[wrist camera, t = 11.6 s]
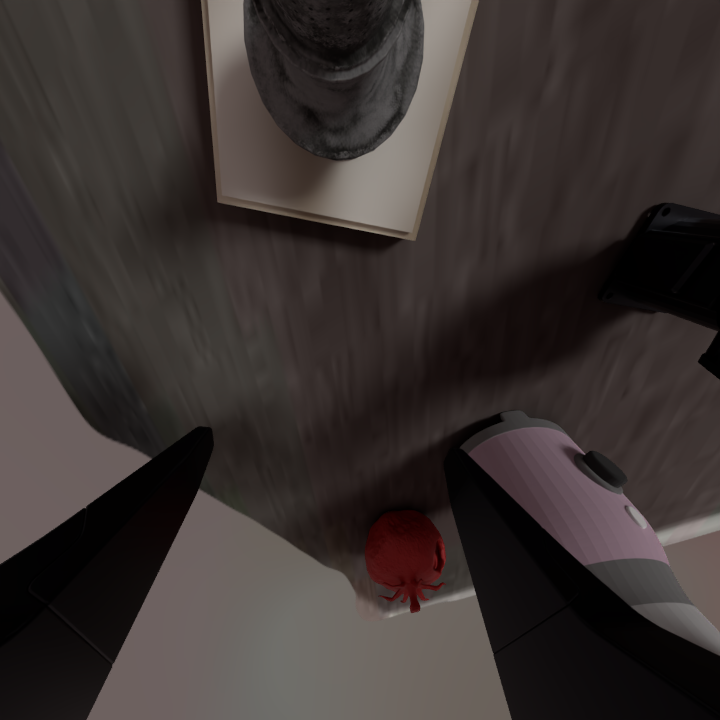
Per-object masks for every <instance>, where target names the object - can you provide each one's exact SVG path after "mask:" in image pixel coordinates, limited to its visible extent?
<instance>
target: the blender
mask: <svg viewBox="0 0 720 720" xmlns="http://www.w3.org/2000/svg"><path fill="white" fill-rule="evenodd" d="M500 418H501V420H502V422H501V423H498V424H495V425H493V426H490V427H488V428H486V429H484V430H482V431H480V432H478V433H477V434H475V435H474V436H472V437H471V438H469V439H468V440H467V441H466V442H465V443H464V444H463V445H462V446H461V447H460V448H461V449H463V450H464V451H465V452H466V453H467V454H468V455H469V456H470V457H471V458H472V459H473V460H474V461H475V462H476V463H477V464H478V465H479V466H480V467H481V468H483V469H484V470H485V471H486V472H487V473H488V474H489V475H490V476H491V477H492V478H493V479H494V480H495V481H496V482H497V483H498V484H499V485H500V486H501V487H502V488H503V489H504V490H505V491H506V492H507V493H508V494H509V495H510V496H511V497H512V498H513V499H514V500H515V501H516V502H517V503H518V504H519V505H520V506H521V507H523V508H524V509H525V510H526V511H527V512H528V513H529V514H530V515H531V516H532V517H533V518H534V519H535V520H536V521H537V522H538V523H539V524H540V525H541V526H542V528H544V529H545V530H546V531H547V532H548V533H549V534H550V535H551V536H552V537H553V538H554V539H556V540H557V541H558V542H559V543H560V544H561V545H562V546H563V547H564V548H565V549H566V550H567V551H568V552H569V553H570V554H572V555H573V556H574V557H575V558H576V559H577V560H578V561H579V562H580V563H582V564H583V565H584V566H585V567H586V568H587V569H588V570H589V571H591V572H592V573H593V574H594V575H595V576H596V577H597V578H599V579H600V580H601V581H602V582H603V583H604V584H605V585H607V586H608V587H609V588H610V589H611V590H612V591H614V592H615V593H616V594H617V595H618V596H619V597H620V598H622V599H623V600H624V601H625V602H626V603H627V604H628V605H630V606H631V607H632V608H633V609H634V610H636V611H637V612H638V613H640V614H641V615H642V616H644V617H645V618H647V619H648V620H650V621H651V622H653V623H655V624H656V625H658V626H660V627H662V628H664V629H666V630H668V631H670V632H672V633H674V634H676V635H678V636H680V637H682V638H684V639H686V640H688V641H690V642H692V643H694V644H696V645H698V646H701V647H703V648H705V649H707V650H709V651H711V652H713V653H715V654H717V655H719V656H720V632H719V631H718V630H717V629H716V628H715V627H714V626H713V625H712V624H711V623H710V622H709V621H708V620H707V618H706V617H705V616H704V615H703V614H702V613H701V612H700V611H699V610H698V609H697V608H696V607H695V606H694V604H693V603H692V602H691V601H690V600H689V598H688V597H687V596H686V594H685V593H684V591H683V589H682V588H681V586H680V584H679V583H678V581H677V579H676V577H675V576H674V574H673V572H672V570H671V568H670V565H669V562H668V559H667V557H666V554H665V552H664V549H663V547H662V545H661V543H660V541H659V539H658V537H657V535H656V534H655V532H654V531H653V529H652V527H651V526H650V525H649V523H648V522H647V520H646V519H645V518H644V517H643V515H642V514H641V513H640V512H639V511H638V510H637V509H636V507H635V506H634V505H633V504H632V503H631V502H630V501H629V500H628V499H627V498H626V497H625V495H624V494H623V489H622V487H621V486H622V485H624V484H625V483H626V482H627V477H626V475H625V474H624V473H623V472H622V471H621V470H620V469H619V468H618V467H617V466H616V465H615V464H614V463H613V462H612V461H610V460H609V459H608V458H606V457H605V456H603V455H602V454H600V453H598V452H596V451H589V452H588V453H587V454H585V453H584V452H583V451H582V450H581V449H580V448H579V447H578V446H577V445H576V444H575V443H574V442H573V440H572V439H571V438H570V437H569V436H568V435H567V434H566V433H565V431H564V430H563V429H562V428H561V427H559V426H558V425H556V424H555V423H553V422H550V421H547V420H543V419H537V418H529V417H528V416H527V415H526V414H524V413H523V412H522V411H519V410H515V411H507V412H503V413H501V414H500Z"/></svg>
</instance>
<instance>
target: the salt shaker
mask: <svg viewBox="0 0 720 720" xmlns="http://www.w3.org/2000/svg"><path fill="white" fill-rule="evenodd" d="M243 15H244V42H245V47H246V52H247V57H248V62H249V66H250V71H251V75H252V77H253V80H254V82H255V85H256V87H257V90H258V92H259V95H260V97H261V100H262V102H263V104H264V106H265V107H266V109H267V110H268V112H269V113H270V115H271V116H272V118H273V120H274V121H275V123H276V124H277V126H278V127H279V128H280V129H281V130H282V131H283V132H284V133H285V134H286V135H287V136H288V137H289V138H290V139H291V140H292V141H293V142H294V143H295V144H296V145H298V146H300V147H301V148H303V149H305V150H306V151H308V152H310V153H311V154H313V155H315V156H319V157H323V158H327V159H331V160H335V161H342V160H352V159H355V158H358V157H360V156H362V155H365V154H367V153H369V152H372V151H374V150H375V149H376V148H377V147H378V146H380V145H381V144H382V143H383V142H384V141H386V140H387V139H388V138H389V137H390V136H391V135H392V134H393V132H394V131H395V129H396V128H397V127H398V125H399V124H400V122H401V121H402V120H403V118H404V117H405V115H406V113H407V111H408V108H409V106H410V104H411V101H412V99H413V97H414V94H415V92H416V90H417V85H418V81H419V76H420V71H421V67H422V62H423V51H424V18H423V11H422V4H421V0H244V2H243Z"/></svg>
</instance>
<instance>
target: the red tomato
mask: <svg viewBox="0 0 720 720" xmlns="http://www.w3.org/2000/svg"><path fill="white" fill-rule="evenodd" d="M365 560H366V566H367V571H368V573H369V575H370V577H371V579H372V580H373V581H374V582H376V583H378V584H381V585H383V586H384V587H385V588H387V589H390V590H392V591H394V592H396V593H395V595H394V596H393V597H392V598H390V597H385V596H380V597H383V598H385V599H386V600H388V601H394V600H395V599H396V598H398V597H399V596H400V595H401V594H404V598H403V601H400V602H402V603H405V602H406V600H407V598H408V596H409V597H410V602H411V605H410V611H411V613H414V612H418V611H420V605H419V602H418V601H417V595H418V596H419V597H420V599H421V600H424V601H425V600H429V599H425V597H424V595H423V593H422V591H421V590H422V589H431V590H435V591H437V590H439V589H440V588H441V586H442V585H444V584H445V583H443V582H442V583H440V584H439V585H438V586H432V585H430V584H431V583H433V582H434V581H435V580H436V579H438V578H439V577H440V575H441V571H442V570H443V567H444V564H445V560H446V555H445V546H444V543H443V540H442V537H441V535H440V533H439V531H438V530H437V528H436V527H435V525H434V524H433V523H432V522H431V520H430V519H429V518H428V517H426V516H425V515H424V514H422V513H420V512H417V511H415V510H401V511H395V510H393V511H389V512H386V513H384V514H383V515H382V516H381V517H380V518H379V519H378V520H377V521H376V522H375V523H374V524H373V526H372V527H371V528H370V530H369V534H368V538H367V542H366V546H365ZM445 585H446V584H445Z"/></svg>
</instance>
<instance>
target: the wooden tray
mask: <svg viewBox="0 0 720 720" xmlns="http://www.w3.org/2000/svg"><path fill="white" fill-rule="evenodd" d="M243 2H244V0H201V5H202V17H203V29H204V42H205V54H206V66H207V79H208V91H209V103H210V116H211V128H212V140H213V153H214V165H215V177H216V190H217V202H218V203H223V204H228V205H233V206H238V207H244V208H249V209H254V210H259V211H264V212H269V213H274V214H280V215H285V216H290V217H295V218H300V219H305V220H310V221H316V222H321V223H326V224H331V225H336V226H341V227H346V228H352V229H357V230H362V231H367V232H372V233H377V234H382V235H388V236H393V237H398V238H403V239H408V240H413V241H415V240H416V236H417V233H418V229H419V225H420V221H421V218H422V214H423V210H424V206H425V202H426V199H427V195H428V191H429V187H430V183H431V180H432V176H433V172H434V168H435V165H436V161H437V157H438V153H439V149H440V146H441V142H442V138H443V134H444V130H445V127H446V123H447V119H448V115H449V112H450V108H451V104H452V100H453V96H454V93H455V89H456V85H457V81H458V77H459V74H460V70H461V66H462V62H463V59H464V55H465V51H466V47H467V43H468V40H469V36H470V32H471V28H472V24H473V21H474V17H475V13H476V9H477V6H478V2H479V0H421V4H422V11H423V18H424V51H423V62H422V67H421V71H420V76H419V81H418V85H417V90H416V92H415V94H414V97H413V99H412V101H411V104H410V106H409V108H408V111H407V113H406V115H405V117H404V118H403V120H402V121H401V122H400V124H399V125H398V127H397V128H396V129H395V131H394V132H393V134H392V135H391V136H390V137H389V138H388V139H387V140H386V141H384V142H383V143H382V144H381V145H380V146H378V147H377V148H376V149H375V150H374V151H372V152H369V153H367V154H365V155H362V156H360V157H358V158H355V159H352V160H342V161H335V160H331V159H327V158H323V157H319V156H315V155H313V154H311V153H310V152H308V151H306V150H305V149H303V148H301V147H300V146H298V145H296V144H295V143H294V142H293V141H292V140H291V139H290V138H289V137H288V136H287V135H286V134H285V133H284V132H283V131H282V130H281V129H280V128H279V127H278V126H277V124H276V123H275V121H274V120H273V118H272V116H271V115H270V113H269V112H268V110H267V109H266V107H265V106H264V104H263V102H262V100H261V97H260V95H259V92H258V90H257V87H256V85H255V82H254V80H253V77H252V75H251V71H250V66H249V62H248V57H247V52H246V47H245V42H244V15H243Z"/></svg>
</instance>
